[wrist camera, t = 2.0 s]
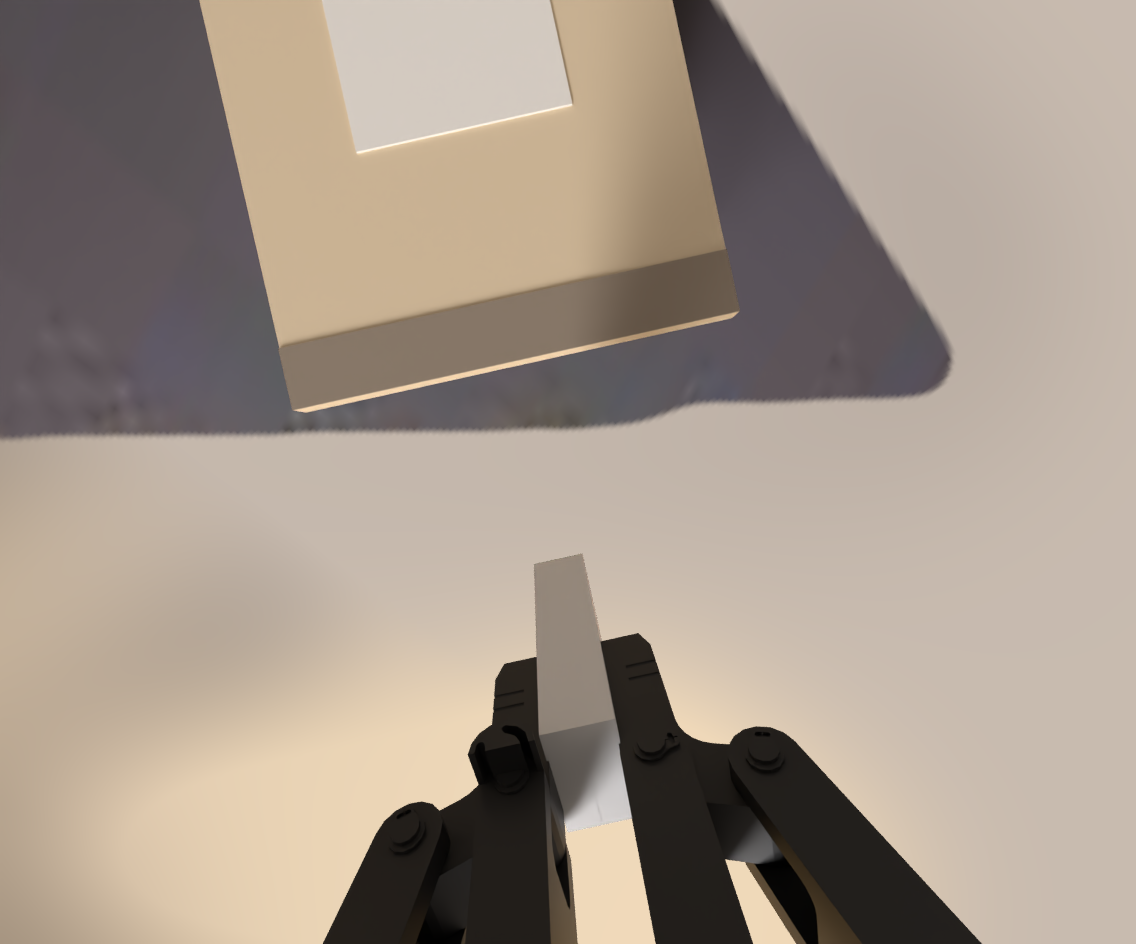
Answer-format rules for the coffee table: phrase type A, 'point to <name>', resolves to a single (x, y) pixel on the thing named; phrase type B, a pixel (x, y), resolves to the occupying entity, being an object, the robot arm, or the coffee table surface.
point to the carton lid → (466, 183)
